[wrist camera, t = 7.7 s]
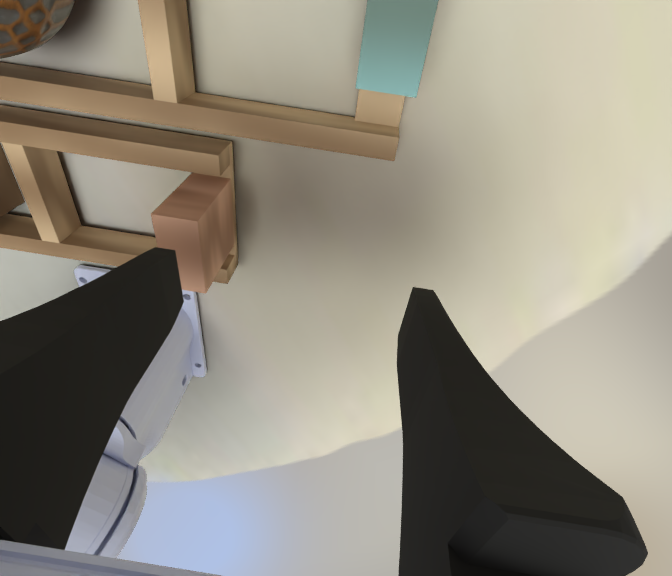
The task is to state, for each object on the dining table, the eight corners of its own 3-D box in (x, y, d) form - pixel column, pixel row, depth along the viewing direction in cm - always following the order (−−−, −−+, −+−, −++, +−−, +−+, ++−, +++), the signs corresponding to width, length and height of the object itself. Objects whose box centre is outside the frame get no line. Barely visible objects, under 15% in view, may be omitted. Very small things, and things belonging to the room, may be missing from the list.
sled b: (238, 264, 24) (208, 319, 20) (-89, 211, 24) (-180, 256, 20) (232, 141, 19) (193, 182, 16) (-173, 77, 20) (-313, 103, 16)
